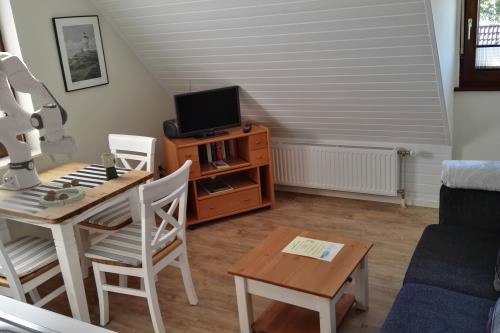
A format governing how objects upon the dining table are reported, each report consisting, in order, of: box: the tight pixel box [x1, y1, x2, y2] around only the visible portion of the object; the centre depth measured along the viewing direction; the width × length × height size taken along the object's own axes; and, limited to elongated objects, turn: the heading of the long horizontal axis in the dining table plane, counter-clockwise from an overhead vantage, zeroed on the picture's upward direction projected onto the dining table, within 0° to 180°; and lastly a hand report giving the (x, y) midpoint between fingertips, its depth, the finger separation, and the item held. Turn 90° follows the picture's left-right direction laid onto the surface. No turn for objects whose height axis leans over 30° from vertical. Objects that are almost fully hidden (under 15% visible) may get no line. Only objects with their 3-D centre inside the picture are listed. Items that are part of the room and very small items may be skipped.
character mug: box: [100, 152, 119, 179], centre depth 280 cm, size 11×7×13 cm, turn 16°
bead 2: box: [70, 178, 80, 187], centre depth 273 cm, size 4×4×4 cm
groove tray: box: [38, 187, 85, 207], centre depth 254 cm, size 21×21×3 cm
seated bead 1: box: [46, 189, 56, 196], centre depth 255 cm, size 4×4×4 cm
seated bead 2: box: [46, 194, 55, 201], centre depth 249 cm, size 4×4×4 cm
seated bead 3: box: [59, 193, 68, 200], centre depth 248 cm, size 4×4×4 cm
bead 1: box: [62, 181, 72, 189], centre depth 269 cm, size 4×4×4 cm
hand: (61, 162), depth 265 cm, fingers open, 8 cm apart
